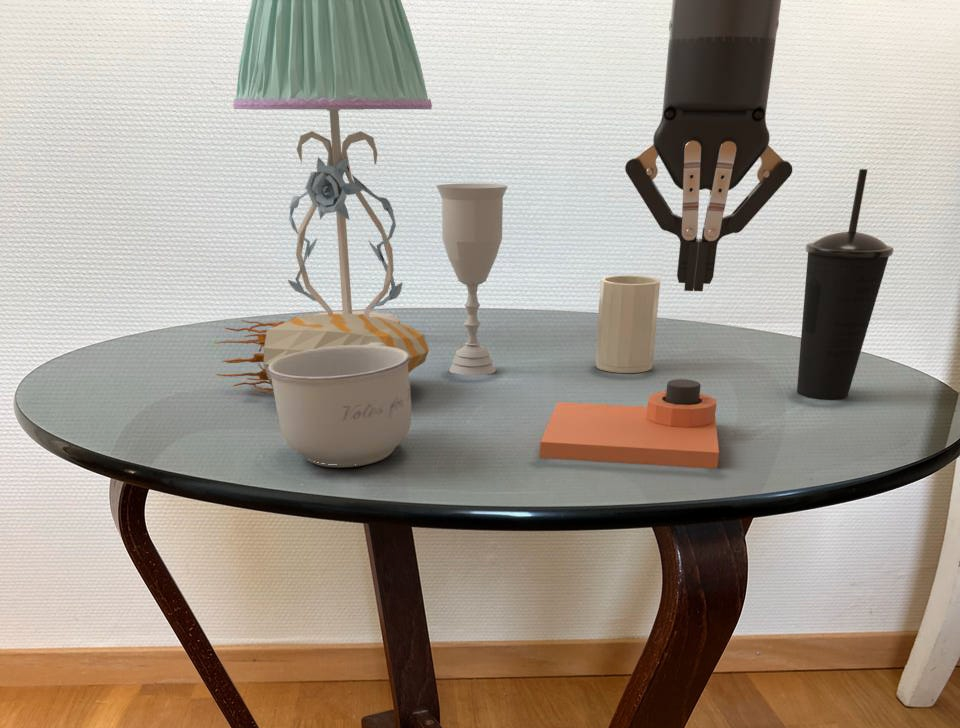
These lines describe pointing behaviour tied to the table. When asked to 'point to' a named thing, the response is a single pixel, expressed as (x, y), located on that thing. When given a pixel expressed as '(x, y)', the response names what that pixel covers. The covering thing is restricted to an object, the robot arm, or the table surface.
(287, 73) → the table lamp
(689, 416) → the scale
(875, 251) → the drinking cup
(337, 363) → the teacup
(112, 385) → the table surface
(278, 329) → the nautilus
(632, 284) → the cup
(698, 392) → the button
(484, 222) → the chalice
